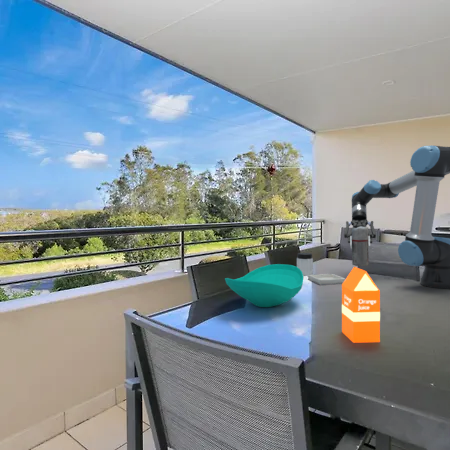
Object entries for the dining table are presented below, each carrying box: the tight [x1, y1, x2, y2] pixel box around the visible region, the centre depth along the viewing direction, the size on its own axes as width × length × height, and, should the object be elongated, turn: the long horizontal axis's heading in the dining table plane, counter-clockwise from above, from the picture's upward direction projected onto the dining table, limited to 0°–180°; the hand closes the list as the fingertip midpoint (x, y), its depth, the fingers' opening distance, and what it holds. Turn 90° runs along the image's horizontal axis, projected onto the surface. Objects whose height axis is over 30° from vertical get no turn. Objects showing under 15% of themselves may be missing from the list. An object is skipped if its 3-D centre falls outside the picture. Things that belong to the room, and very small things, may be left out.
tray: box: [307, 273, 346, 286], centre depth 179 cm, size 14×14×2 cm
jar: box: [296, 252, 314, 277], centre depth 199 cm, size 9×8×12 cm
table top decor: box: [224, 263, 305, 308], centre depth 137 cm, size 40×28×13 cm
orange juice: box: [341, 266, 381, 344], centre depth 101 cm, size 8×9×20 cm
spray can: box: [351, 226, 370, 267], centre depth 178 cm, size 8×8×20 cm
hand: (360, 247), depth 175 cm, fingers closed on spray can, 8 cm apart
